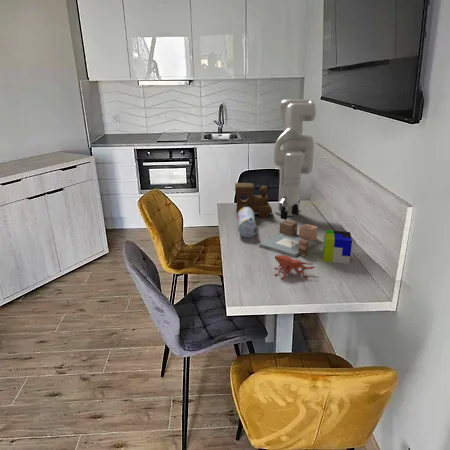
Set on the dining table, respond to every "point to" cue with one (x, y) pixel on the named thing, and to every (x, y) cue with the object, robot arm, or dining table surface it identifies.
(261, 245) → the board
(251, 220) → the pencil case
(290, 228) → the walnut block
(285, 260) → the beetle
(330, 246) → the puzzle toy
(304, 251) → the tower
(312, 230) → the terracotta block
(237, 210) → the wooden toy train
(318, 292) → the dining table surface
